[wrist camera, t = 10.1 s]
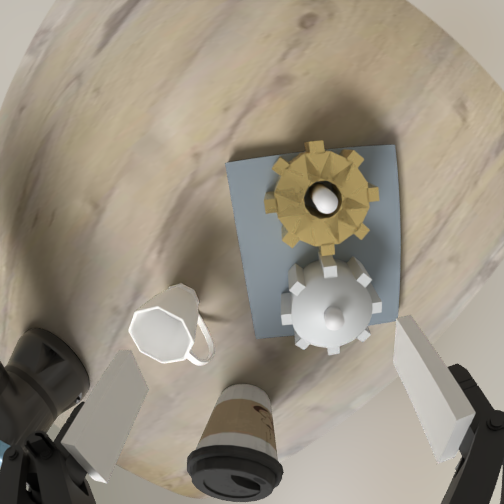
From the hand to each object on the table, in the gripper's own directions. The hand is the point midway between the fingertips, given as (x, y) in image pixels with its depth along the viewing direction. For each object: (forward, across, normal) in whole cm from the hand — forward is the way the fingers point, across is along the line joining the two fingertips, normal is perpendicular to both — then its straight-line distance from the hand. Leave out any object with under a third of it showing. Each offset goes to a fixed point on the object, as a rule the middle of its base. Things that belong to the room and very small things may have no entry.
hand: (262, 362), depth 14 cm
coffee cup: (+21, -7, -23) cm, 32 cm away
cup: (+21, -10, -7) cm, 24 cm away
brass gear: (+19, +6, +4) cm, 20 cm away
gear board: (+20, +6, -2) cm, 21 cm away
